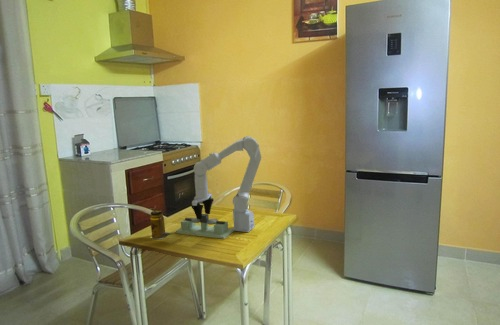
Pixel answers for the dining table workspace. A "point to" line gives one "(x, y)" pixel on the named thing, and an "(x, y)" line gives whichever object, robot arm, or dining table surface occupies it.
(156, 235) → the condiment
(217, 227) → the display stand
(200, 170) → the robot arm
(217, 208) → the dining table surface
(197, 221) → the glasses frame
